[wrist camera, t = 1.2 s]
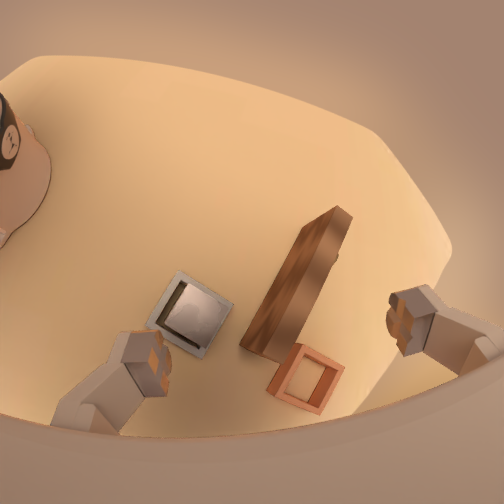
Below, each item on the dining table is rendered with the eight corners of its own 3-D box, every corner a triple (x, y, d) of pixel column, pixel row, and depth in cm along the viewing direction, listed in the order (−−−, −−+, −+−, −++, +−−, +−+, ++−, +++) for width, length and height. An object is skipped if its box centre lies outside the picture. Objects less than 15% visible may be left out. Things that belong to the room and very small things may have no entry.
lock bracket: (309, 409, 36) (319, 415, 33) (266, 390, 35) (274, 396, 32) (333, 364, 38) (345, 367, 35) (292, 342, 37) (302, 344, 34)
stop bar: (193, 337, 34) (205, 348, 23) (164, 320, 33) (163, 323, 23) (210, 309, 35) (229, 307, 25) (181, 291, 35) (188, 282, 24)
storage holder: (198, 355, 33) (201, 359, 31) (146, 324, 33) (144, 325, 30) (228, 304, 36) (233, 304, 33) (177, 273, 35) (178, 269, 32)
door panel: (266, 359, 36) (296, 371, 27) (239, 344, 35) (262, 354, 27) (325, 242, 41) (363, 225, 33) (303, 226, 41) (337, 205, 32)
